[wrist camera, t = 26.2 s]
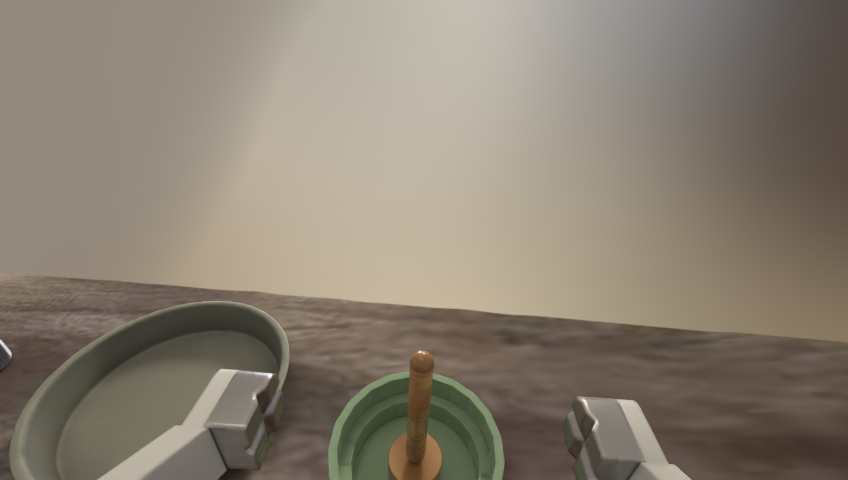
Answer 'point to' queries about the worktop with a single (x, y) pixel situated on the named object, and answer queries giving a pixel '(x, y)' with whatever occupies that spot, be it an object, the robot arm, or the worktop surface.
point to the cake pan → (138, 386)
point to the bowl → (387, 420)
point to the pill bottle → (4, 355)
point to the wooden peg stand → (417, 428)
